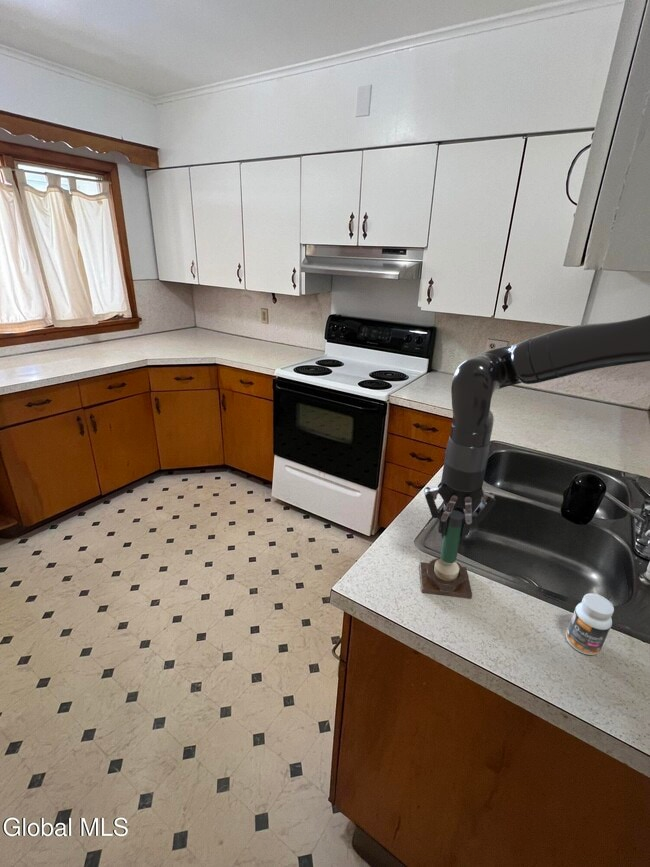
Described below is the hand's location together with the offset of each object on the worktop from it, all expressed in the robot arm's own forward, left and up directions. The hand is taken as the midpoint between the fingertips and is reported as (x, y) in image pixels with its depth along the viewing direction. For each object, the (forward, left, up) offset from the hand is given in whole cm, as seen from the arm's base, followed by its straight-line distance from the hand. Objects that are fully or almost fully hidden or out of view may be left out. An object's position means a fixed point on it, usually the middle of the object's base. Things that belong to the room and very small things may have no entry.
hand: (452, 534), depth 86 cm
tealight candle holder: (0, +1, -12) cm, 12 cm away
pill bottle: (-23, +12, -12) cm, 29 cm away
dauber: (0, 0, -6) cm, 6 cm away
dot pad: (0, +1, -10) cm, 10 cm away
